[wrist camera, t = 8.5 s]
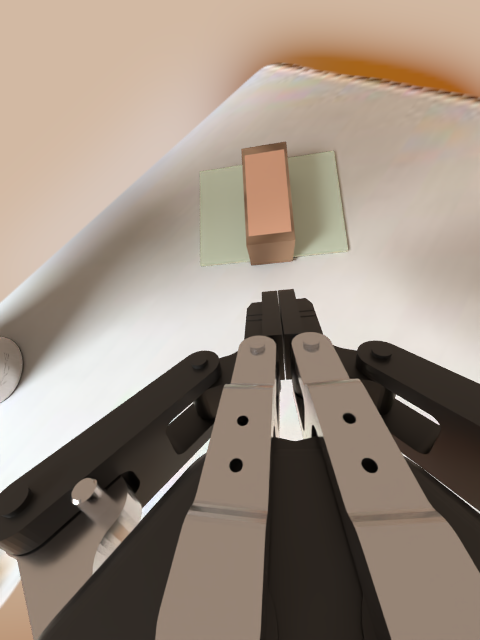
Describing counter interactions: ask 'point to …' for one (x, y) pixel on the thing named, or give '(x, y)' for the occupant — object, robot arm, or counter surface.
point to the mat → (307, 203)
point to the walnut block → (268, 204)
